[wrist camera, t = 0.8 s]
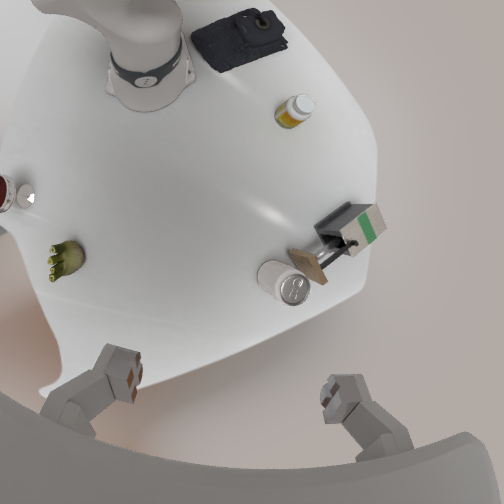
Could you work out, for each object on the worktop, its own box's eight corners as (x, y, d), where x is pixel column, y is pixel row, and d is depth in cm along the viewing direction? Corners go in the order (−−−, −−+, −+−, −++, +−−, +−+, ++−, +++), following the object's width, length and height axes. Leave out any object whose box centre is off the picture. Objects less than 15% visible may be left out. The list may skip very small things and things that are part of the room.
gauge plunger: (302, 275, 56) (326, 287, 47) (288, 251, 55) (311, 259, 45) (335, 249, 58) (363, 256, 48) (324, 225, 56) (351, 228, 47)
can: (289, 263, 58) (317, 275, 46) (280, 293, 58) (306, 311, 47) (261, 256, 56) (284, 267, 44) (252, 287, 56) (273, 305, 45)
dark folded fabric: (181, 34, 45) (182, 22, 40) (258, 8, 48) (264, -2, 43) (216, 78, 49) (220, 68, 44) (293, 47, 52) (301, 38, 47)
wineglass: (42, 190, 41) (13, 185, 30) (27, 218, 41) (-4, 220, 30) (24, 173, 39) (-6, 165, 28) (9, 201, 39) (-22, 199, 28)
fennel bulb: (73, 236, 45) (48, 242, 33) (91, 250, 46) (70, 259, 35) (60, 260, 45) (34, 272, 33) (79, 274, 46) (56, 290, 35)
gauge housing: (327, 252, 60) (354, 259, 50) (313, 225, 58) (339, 228, 49) (359, 227, 62) (387, 230, 52) (347, 201, 60) (375, 200, 50)
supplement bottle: (272, 106, 52) (290, 89, 43) (295, 107, 54) (315, 91, 44) (276, 129, 53) (295, 115, 44) (299, 129, 55) (321, 116, 45)
